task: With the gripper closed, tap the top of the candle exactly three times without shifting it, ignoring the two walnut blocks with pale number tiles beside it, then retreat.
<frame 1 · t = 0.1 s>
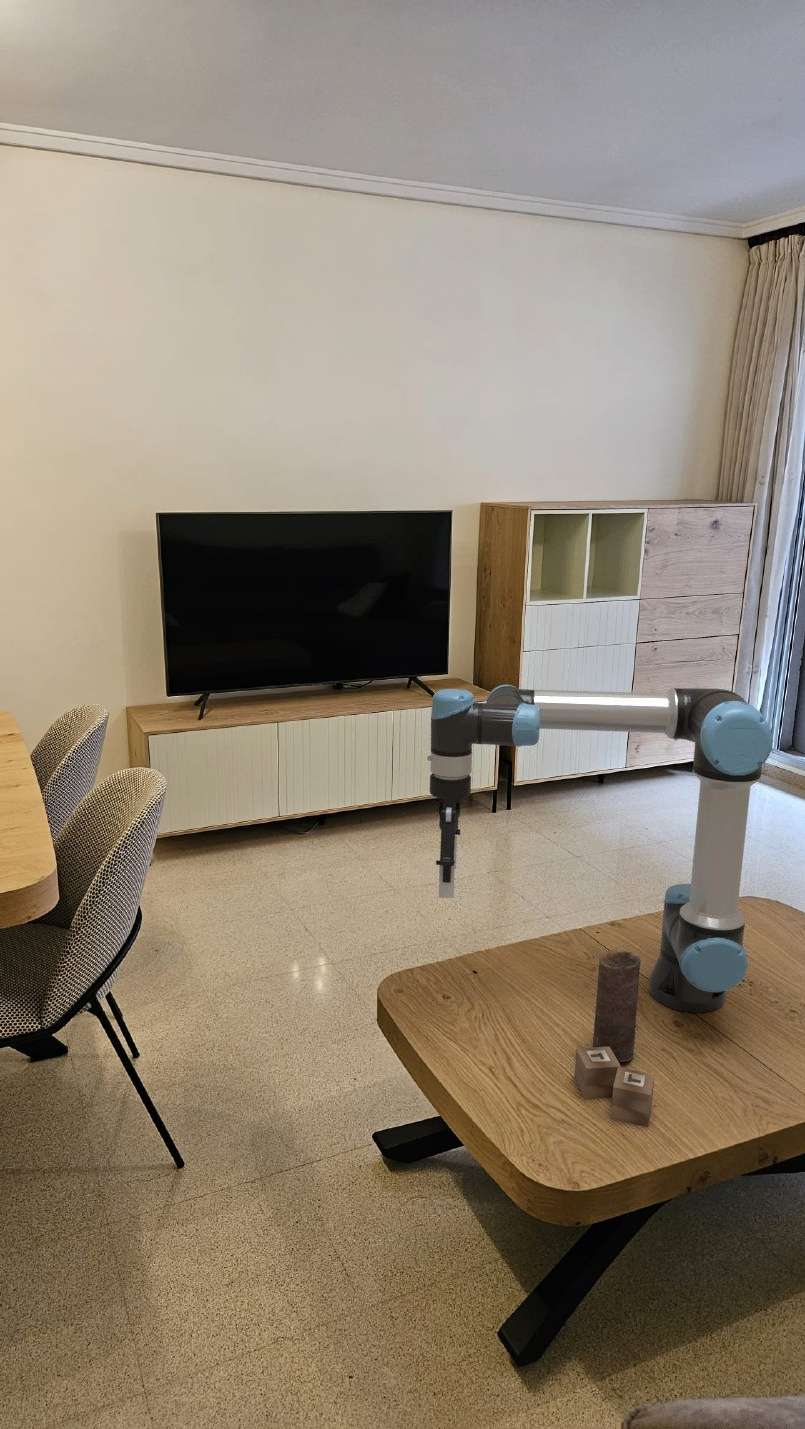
hand: (447, 882, 185), 28 cm above the table, fingers open, 13 cm apart
block two: (596, 1088, 170), on the table
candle: (612, 1057, 179), on the table
block seven: (631, 1112, 164), on the table
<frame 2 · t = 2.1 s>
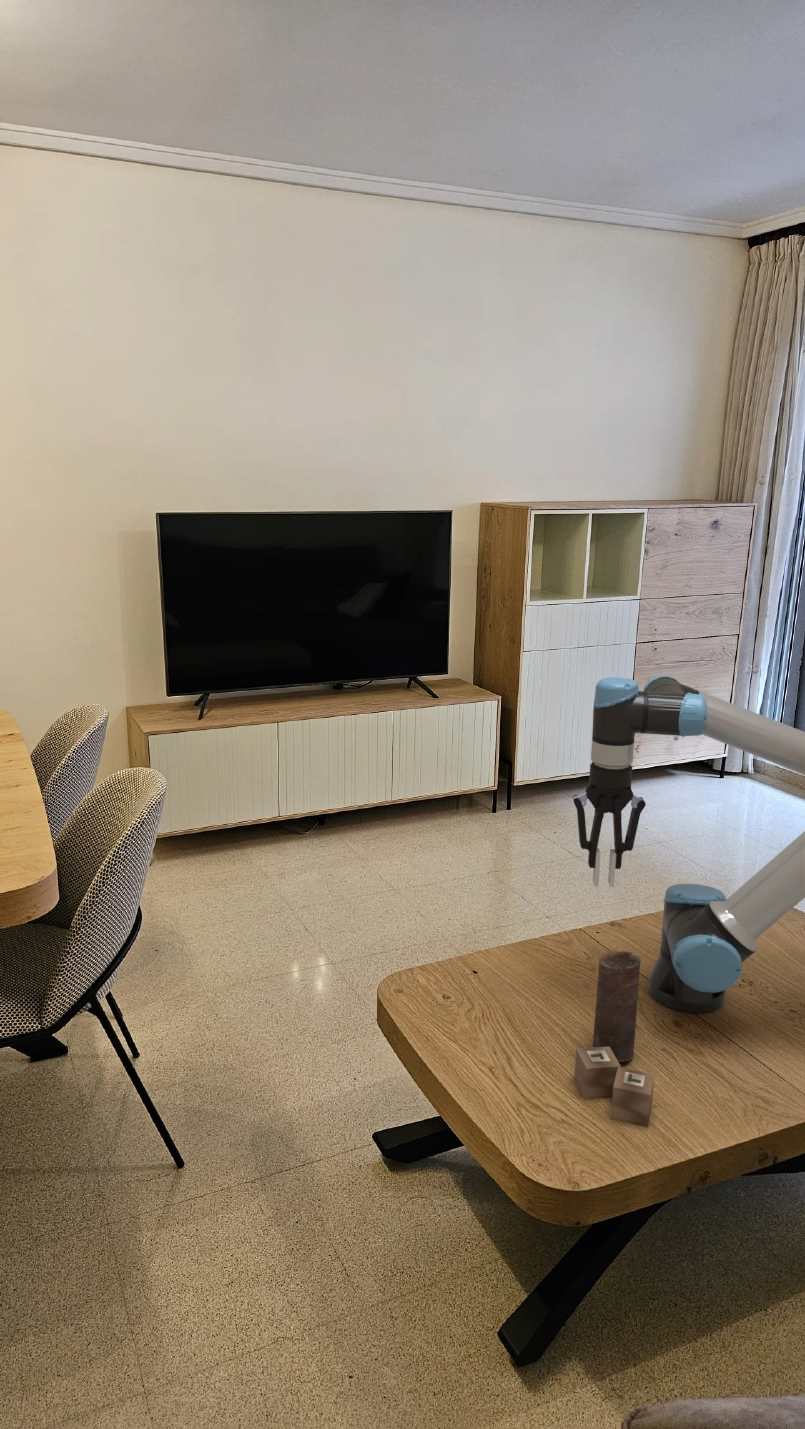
hand: (603, 883, 184), 28 cm above the table, fingers open, 2 cm apart
nothing on the table moved.
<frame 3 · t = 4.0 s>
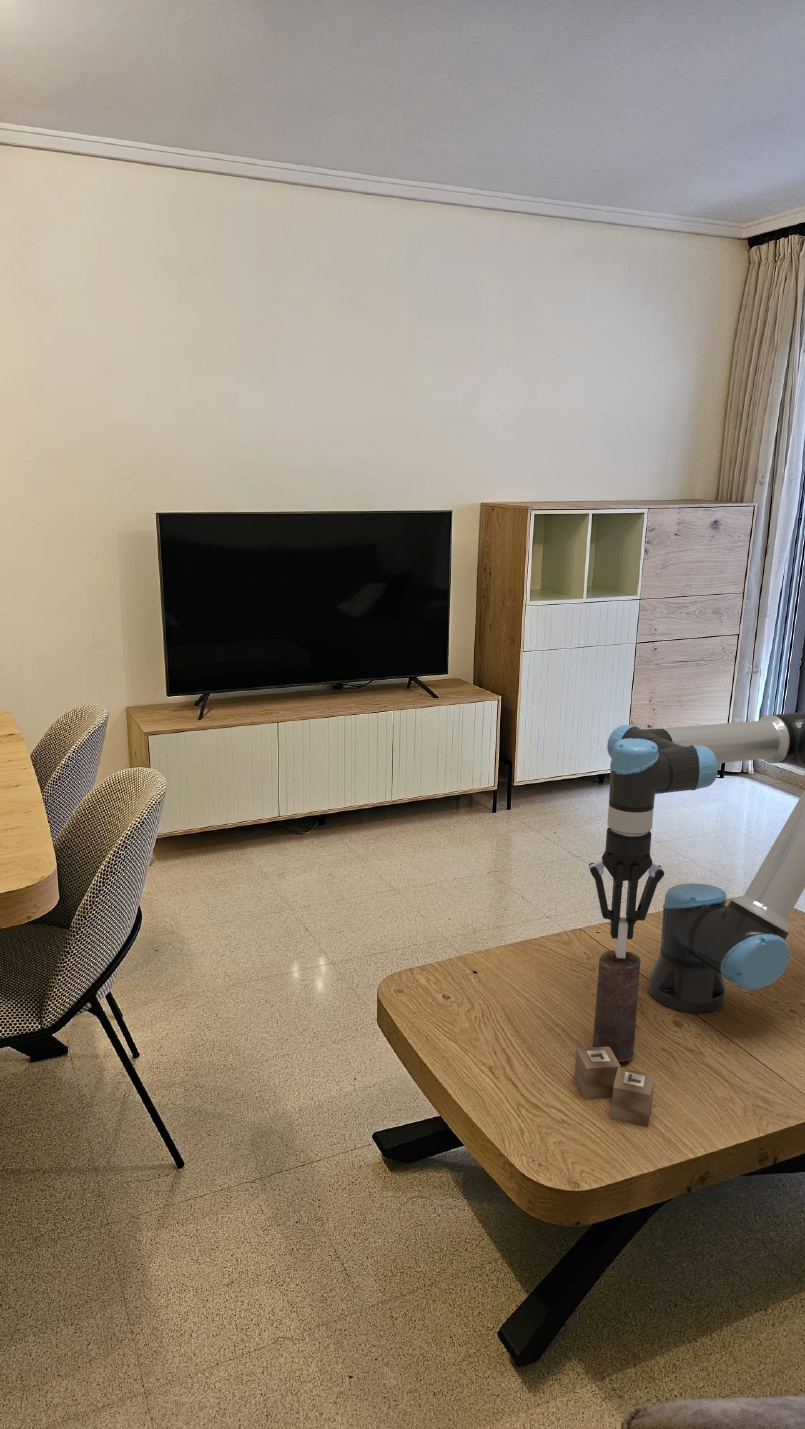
hand: (620, 954, 174), 20 cm above the table, fingers closed
nothing on the table moved.
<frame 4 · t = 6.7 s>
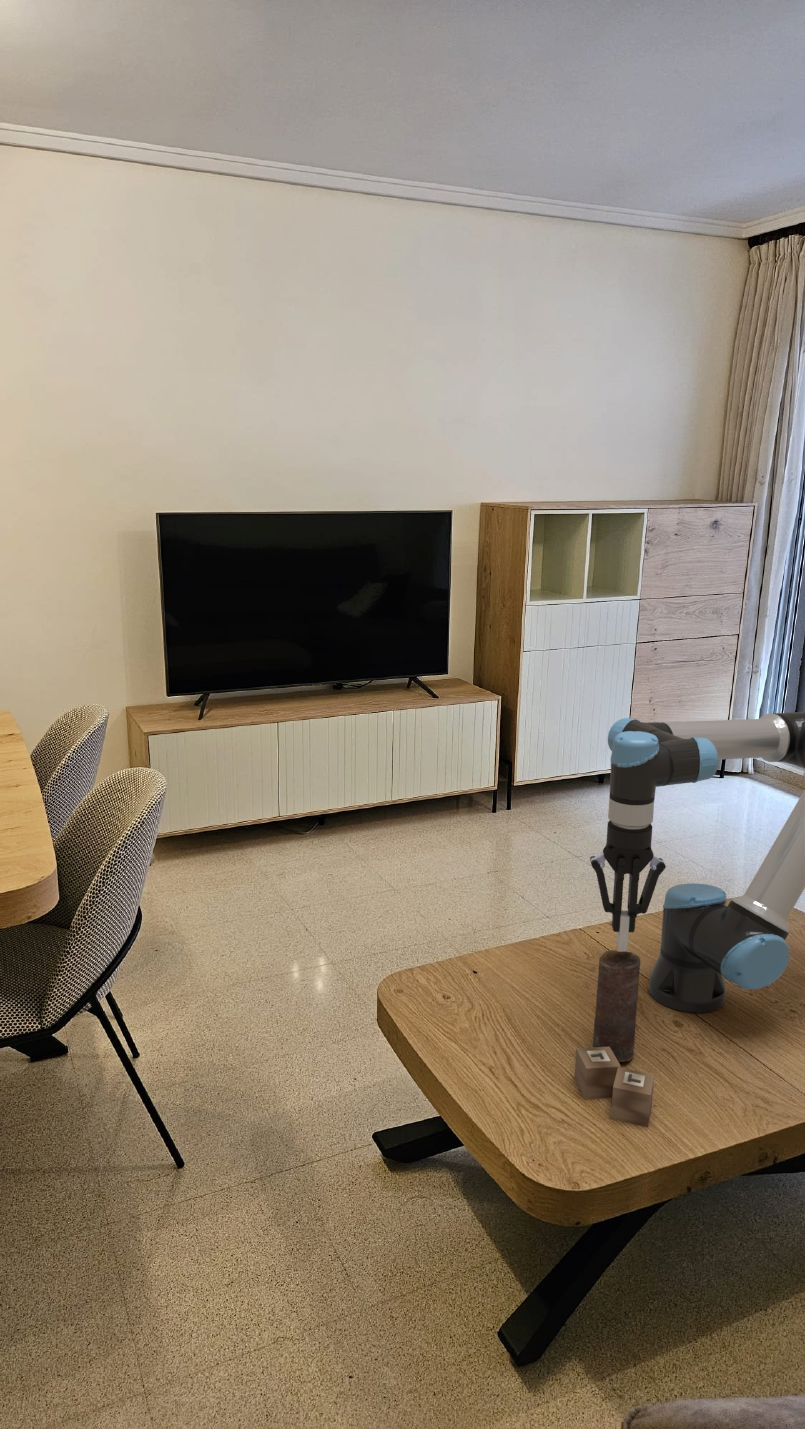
hand: (621, 947, 174), 22 cm above the table, fingers closed
nothing on the table moved.
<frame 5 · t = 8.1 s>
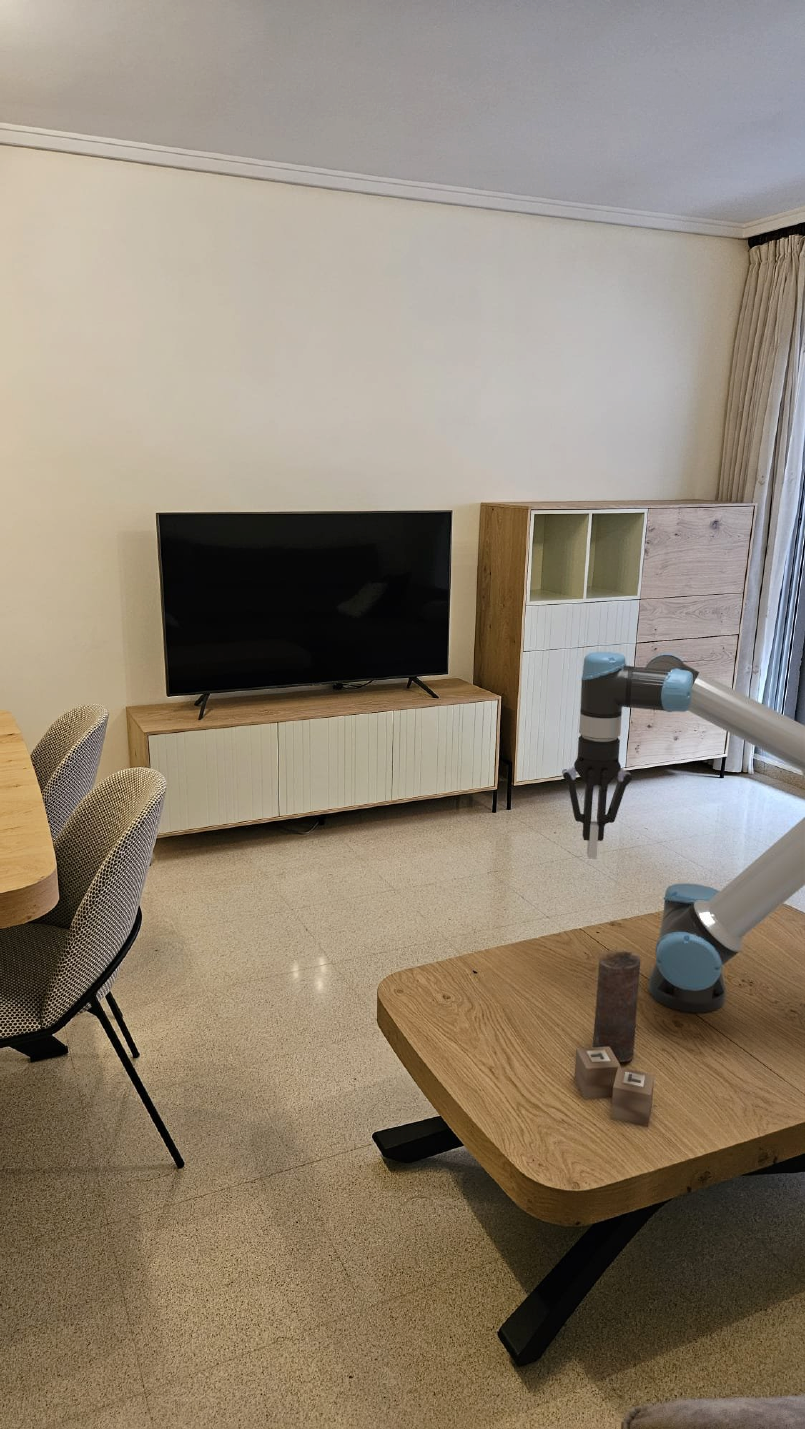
hand: (591, 855, 187), 32 cm above the table, fingers closed
nothing on the table moved.
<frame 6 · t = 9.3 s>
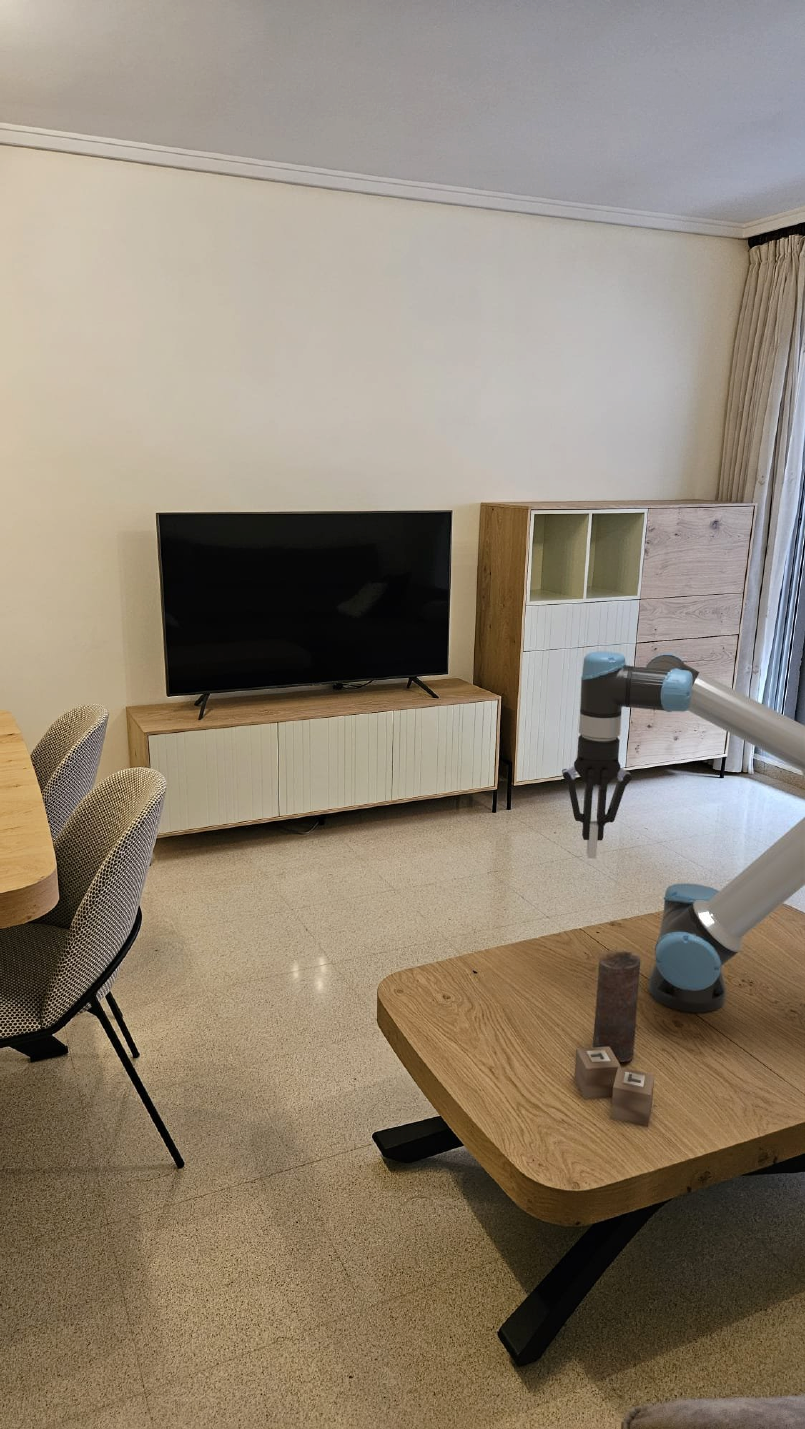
hand: (591, 855, 187), 32 cm above the table, fingers closed
nothing on the table moved.
at the end: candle moved 0.2 cm from its start; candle tilted 0°; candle inside the target area (0.0 cm from its centre), on the table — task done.
